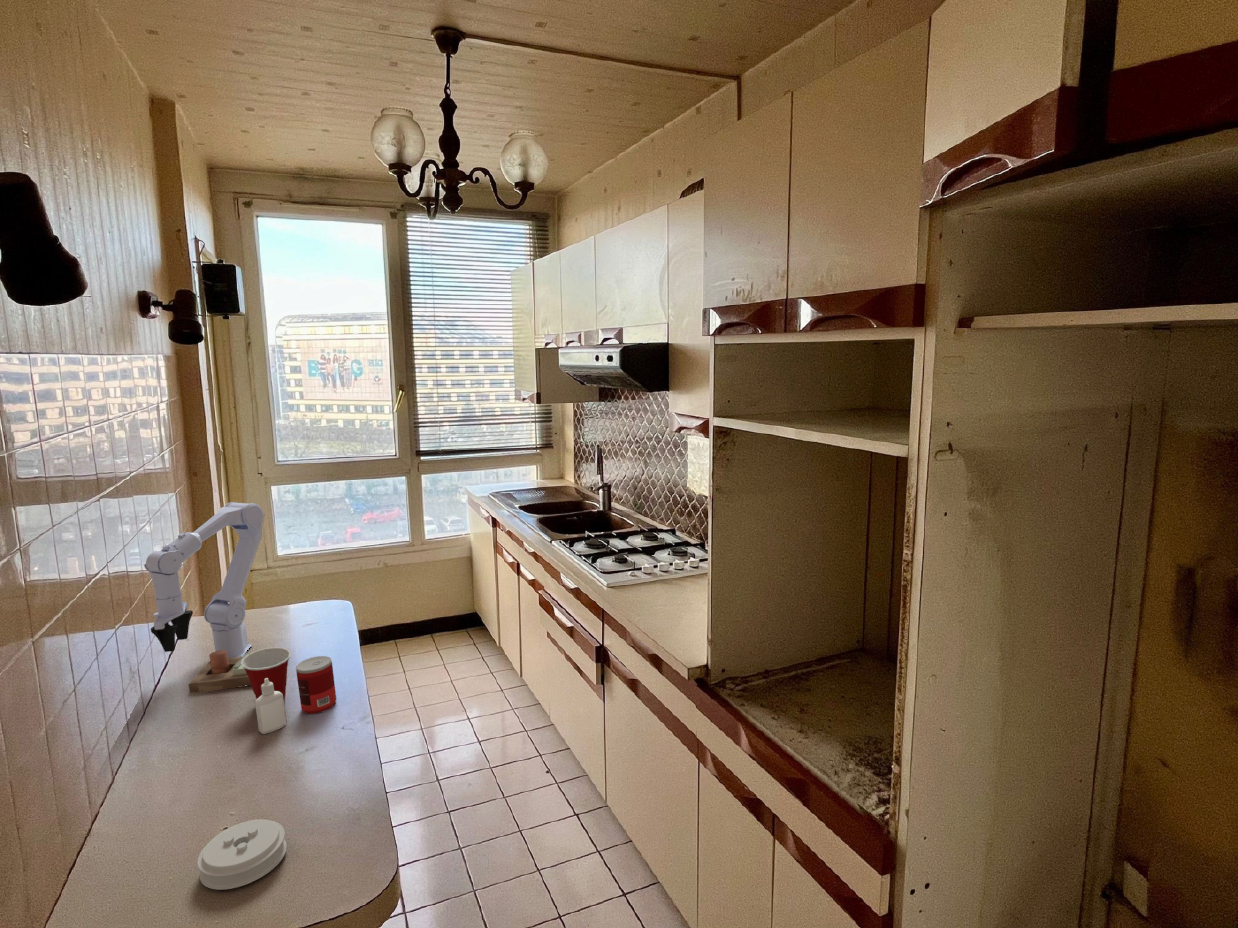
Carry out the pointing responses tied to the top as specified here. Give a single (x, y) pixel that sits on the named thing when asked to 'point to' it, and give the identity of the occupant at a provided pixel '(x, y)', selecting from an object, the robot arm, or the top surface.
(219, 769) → the top surface
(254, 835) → the lid
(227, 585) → the robot arm
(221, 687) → the board
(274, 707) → the eye dropper bottle
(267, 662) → the plastic cup
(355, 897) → the top surface
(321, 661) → the canned food
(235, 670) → the cover
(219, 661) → the pin
